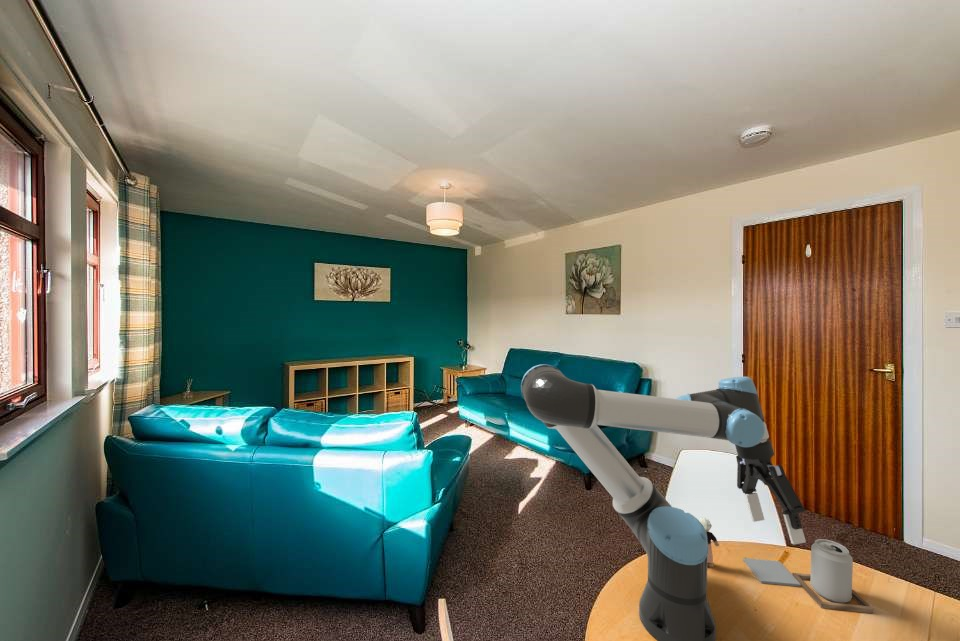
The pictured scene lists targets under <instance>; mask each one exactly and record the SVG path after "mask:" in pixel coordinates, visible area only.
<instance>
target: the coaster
mask: <svg viewBox="0 0 960 641" xmlns="http://www.w3.org/2000/svg"><path fill="white" fill-rule="evenodd" d="M742 560H743V562H744V563H745V564H746V565H747V568H748V569H749V570H750V571H751V572H752V573H753V575H754V576H755V577H756V579H757V580H758V581H759V582H760V583H761V584H765V585H766V584H767V585H779V586H786V587H787V586H788V587H789V586H790V587H797V588H798V587H799V588H800V587H801V584H800V583H799V582H798V581H797V580H796V579H795V577H794V576H793V575H792V573H791V572H790V570H788V569H787V568H786V567H785V565H784V564H783V563H782V562H781V561H780V560H773V559H772V560H770V559H760V558H757V559H756V558H748V557H743V559H742ZM801 588H802V587H801Z"/></svg>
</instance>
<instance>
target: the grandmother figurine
mask: <svg viewBox="0 0 960 641" xmlns="http://www.w3.org/2000/svg"><path fill="white" fill-rule="evenodd" d="M697 519H698V520H699V521H700V522H701V523H702V525H703V526H704V528H705V530H706V533H707V541H708V548H709V550H708V558H707V567H709V568H714V567H715V566H714V558H713V556H714V555H713V550H712V548H713V547H712V543H714V546H715V547H717V548H718V547H719V546H720V544H719V542H718V539H717V538H716V536H715V535H714V534H713V533H712V532H711V531H710V530H711V529H712V524H711V521H710V520H709V519H708V518H707V517H700V518H697Z"/></svg>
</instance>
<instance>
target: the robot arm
mask: <svg viewBox="0 0 960 641" xmlns="http://www.w3.org/2000/svg"><path fill="white" fill-rule="evenodd" d="M520 392H521V395H522V398H523V399H524V402H525V404H526V407H527V409H528V410H529V412H530V413H531V415H533V416H534V418H536V419H537V420H540V421H541V422H542V423H543V424H544V425H545V426H546V428H548V429H553V430H554V429H555V430H556V431H557V432H558V433H559V434H560V435H561V437H562V438H563V439H564V441H566V443H567V444H568V445H569V447H570V448H571V449H572V450H573V451H574V453H576V454H577V456H578V457H579V458H580V459H581V461H582V462H583V463H584V464H585V466H586V467H587V468H588V470H590V472H591V473H592V474H593V475H594V477H595V478H596V479H597V480H598V481H599V482H600V484H601V485H602V486H603V487H604V488H605V490H606V491H607V492H608V494H609V495H610V496H611V497H612V507H613V509H614V511H616V513H617V514H618V515H619V516H620V518H621V519H622V520H623V521H624V522H625V524H626V525H627V526H628V527H629V529H630V530H631V532H632V533H633V534H634V536H635V537H636V538H637V540H638V542H639V543H640V545H641V546H642V548H643V550H644V551H645V554H646V555H647V581H646V584H645V586H644V589H643V591H642V594H641V596H640V598H639V604H638V616H639V620H640V622H641V624H642V625H643V627H644V629H645V630H646V631H647V633H649V634H650V635H651V636H652V637H653V638H654V639H656V640H657V641H716V640H717V637H716V636H717V634H716V633H717V629H716V627H717V626H716V621H715V619H714V616H713V613H712V609H711V606H710V603H709V600H708V597H707V596H708V594H707V591H708V565H707V558H708V550H709V548H708V541H707V533H706V530H705V528H704V526H703V525H702V523H701V522H700V521H699V520H698V519H699V518H697V517H696V516H694V515H693V514H691V513H690V512H685V511H684V510H683V509H681V508H678V507H674V506H672V505H671V504H670V503H669V501H668V500H667V499H666V497H664V496H663V494H662V493H661V492H660V490H659V489H658V488H657V487H656V486H655V484H653V482H652V481H651V480H650V479H648V477H644V476H639V475H638V473H637V472H636V471H635V470H634V468H633V467H632V466H631V465H630V464H629V463H628V461H627V460H626V458H624V456H623V455H622V454H621V453H620V451H618V449H617V448H616V446H615V445H614V444H613V443H612V441H610V439H609V438H608V437H607V435H606V434H605V433H604V432H603V431H602V430H601V429H600V427H599V426H605V427H611V428H612V427H614V428H623V429H629V430H639V431H646V432H648V431H649V432H657V433H665V434H673V435H674V434H675V435H681V436H690V437H691V436H692V437H697V438H698V437H700V438H706V439H713V440H714V439H715V440H723V441H727V442H729V443H731V444H733V445H734V446H735V450H736V454H737V455H736V463H737V471H736V472H737V475H736V476H737V477H736V485H737V488H738V489H739V490H741V491H742V493H743V494H744V496H745V499H746V503H747V507H748V510H749V515H750V518H751V522H754V523H755V522H760V521H765V517H764V512H763V510H762V506H761V502H760V498H759V496H758V493H757V484H758V481H761V482H762V483H763V484H764V485H765V486H767V487H768V489H769V490H770V491H771V493H772V494H773V496H774V497H775V499H776V500H777V502H778V503H779V505H780V506H781V508H782V509H783V511H782V515H783V520H784V523H785V525H786V526H785V527H786V529H787V534H788V536H789V540H790V544H792V545H799V544H804V543H807V541H806V538H805V534H804V530H803V525H802V523H801V518H800V516H799V514H801V513H805V512H806V509H805V507H804V505H803V503H802V502H801V500H800V498H799V497H798V495H797V493H796V491H795V489H794V488H793V486H792V484H791V483H790V481H789V479H788V477H787V475H786V473H785V470H784V468H783V465H781V464H777V465H773V462H772V461H771V459H772V458H773V457H774V456H775V452H774V451H775V450H774V448H773V444H772V441H771V440H770V439H769V437H770V435H769V431H768V428H767V424H766V422H765V417H764V412H763V408H762V406H761V403H760V402H761V401H760V398H759V393H758V391H757V388H756V386H755V383H754V381H753V379H752V378H751V377H749V376H735V377H728V378H727V377H726V378H723V379H720V380H718V388H716V389H712V390H706V391H700V392H695V393H686V394H685V395H679V396H677V397H676V398H671V397H664V396H663V397H662V396H656V395H655V396H654V395H646V394H638V393H629V392H621V391H611V390H603V389H598V388H596V387H595V385H594V384H593V383H584V382H580V381H575V380H572V379H571V378H568V377H566V376H565V374H563V373H562V371H561V370H560V369H559V368H558V367H556V366H554V365H551V364H546V363H545V364H541V363H540V364H538V365H537V364H536V365H534V366H532V367H531V368H530V369H527V371H526V372H525V373H524V375H523V377H522V380H521V384H520Z"/></svg>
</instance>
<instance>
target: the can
mask: <svg viewBox="0 0 960 641" xmlns="http://www.w3.org/2000/svg"><path fill="white" fill-rule="evenodd" d="M810 551H811V552H810V574H811V578H810V580H809V583H810V586H811V589H813V591H815V592H816V593H817V594H818V595H819V596H820V597H822V598H823V599H826V600H827V601H829V602H832V603H842V604H846V603H848V602H851V600H852V598H853V597H852V590H853V571H854V570H853V568H854V567H853V566H854V565H853V564H854V560H853V557H852V555H851V554H850V551H849V548H848V547H845V546H844V545H842V544H841V543H839V542H836V541H833V540H831V539H824V538H818V539H816V540H814V543H812V545H811V549H810Z"/></svg>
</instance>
